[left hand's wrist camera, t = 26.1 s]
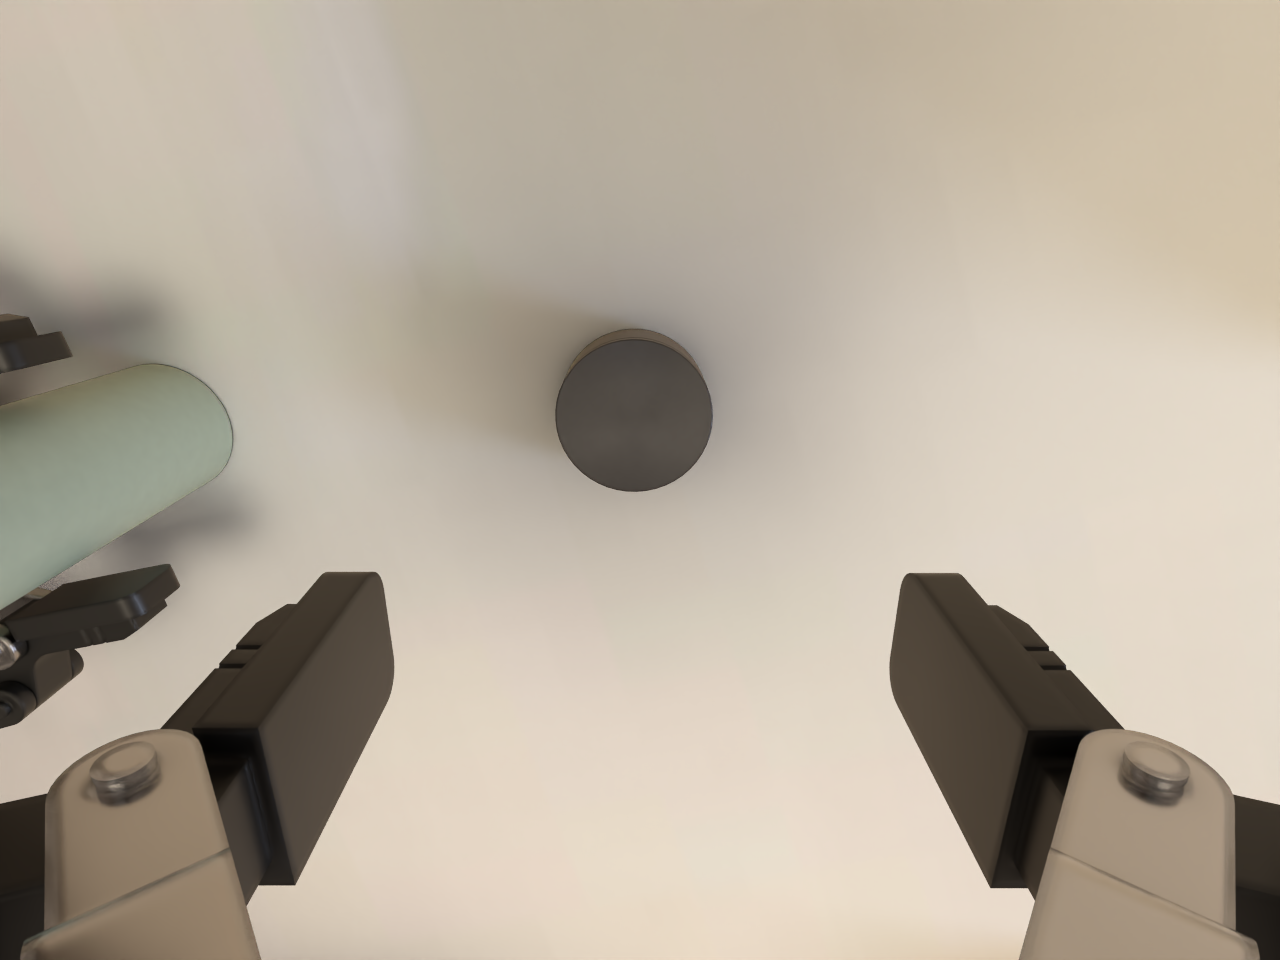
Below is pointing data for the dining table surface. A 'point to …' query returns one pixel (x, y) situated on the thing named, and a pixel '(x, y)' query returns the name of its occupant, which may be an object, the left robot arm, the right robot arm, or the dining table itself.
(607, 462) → the lid
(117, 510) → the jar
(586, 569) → the dining table surface
